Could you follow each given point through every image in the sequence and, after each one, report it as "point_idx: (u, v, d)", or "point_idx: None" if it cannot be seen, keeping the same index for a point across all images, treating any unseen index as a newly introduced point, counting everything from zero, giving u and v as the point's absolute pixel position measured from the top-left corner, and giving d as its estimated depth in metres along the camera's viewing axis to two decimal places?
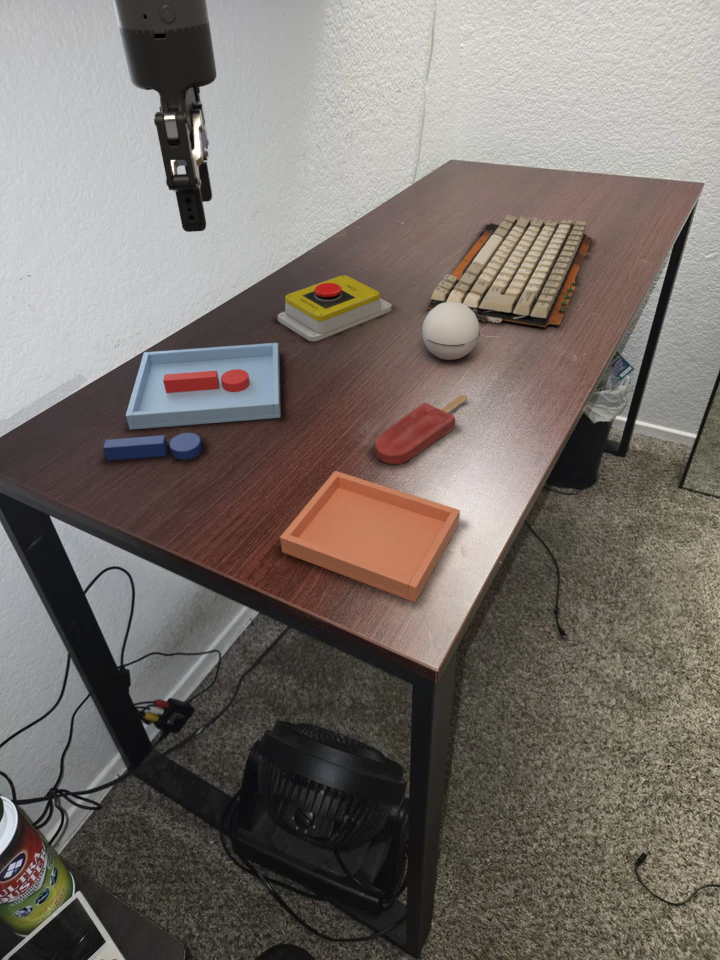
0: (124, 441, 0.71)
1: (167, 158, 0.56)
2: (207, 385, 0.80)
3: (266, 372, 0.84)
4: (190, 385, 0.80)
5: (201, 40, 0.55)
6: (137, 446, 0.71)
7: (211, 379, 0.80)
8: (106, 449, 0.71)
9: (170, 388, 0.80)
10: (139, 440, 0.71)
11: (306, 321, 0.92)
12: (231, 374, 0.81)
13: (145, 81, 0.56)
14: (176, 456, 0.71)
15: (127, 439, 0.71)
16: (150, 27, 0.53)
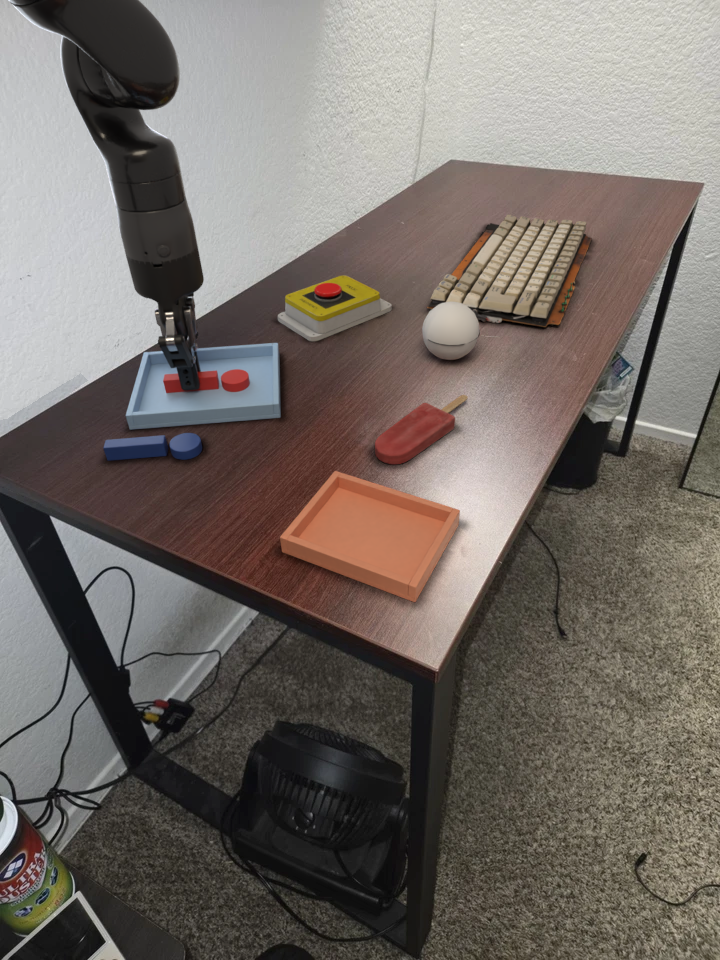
0: (124, 441, 0.71)
1: (170, 358, 0.73)
2: (207, 385, 0.80)
3: (266, 372, 0.84)
4: None
5: (190, 263, 0.69)
6: (137, 446, 0.71)
7: (211, 379, 0.80)
8: (106, 449, 0.71)
9: (170, 388, 0.80)
10: (139, 440, 0.71)
11: (306, 321, 0.92)
12: (231, 374, 0.81)
13: (146, 294, 0.70)
14: (176, 456, 0.71)
15: (127, 439, 0.71)
16: (150, 260, 0.67)
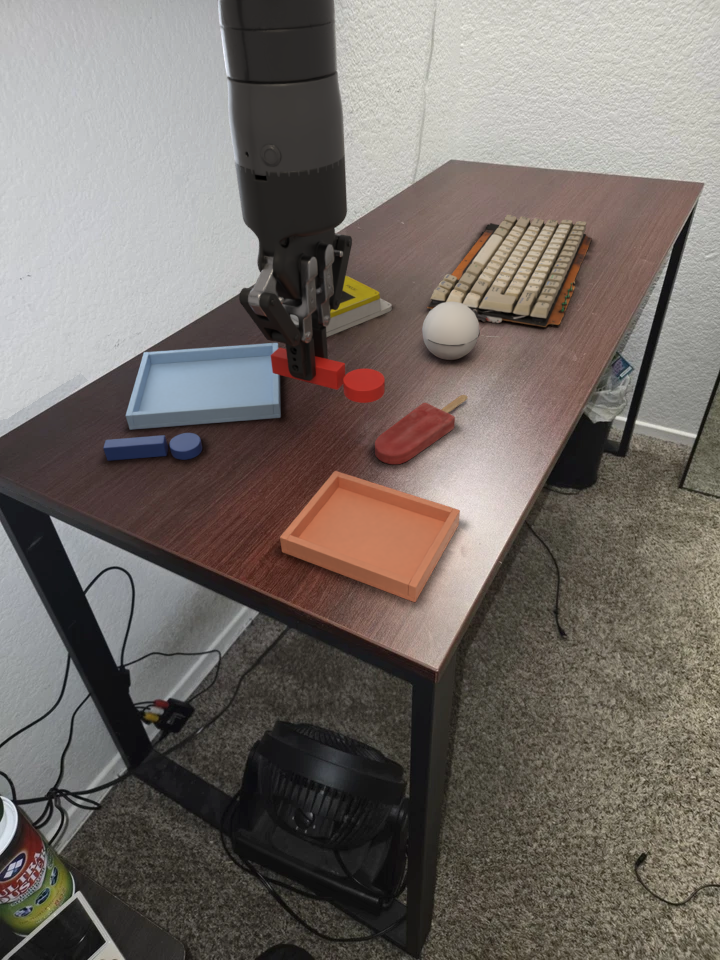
0: (124, 441, 0.71)
1: (260, 325, 0.49)
2: (323, 380, 0.55)
3: (266, 372, 0.84)
4: None
5: (316, 185, 0.43)
6: (137, 446, 0.71)
7: (329, 373, 0.54)
8: (106, 449, 0.71)
9: (277, 368, 0.56)
10: (139, 440, 0.71)
11: None
12: (362, 375, 0.54)
13: (246, 221, 0.46)
14: (176, 456, 0.71)
15: (127, 439, 0.71)
16: (251, 167, 0.42)
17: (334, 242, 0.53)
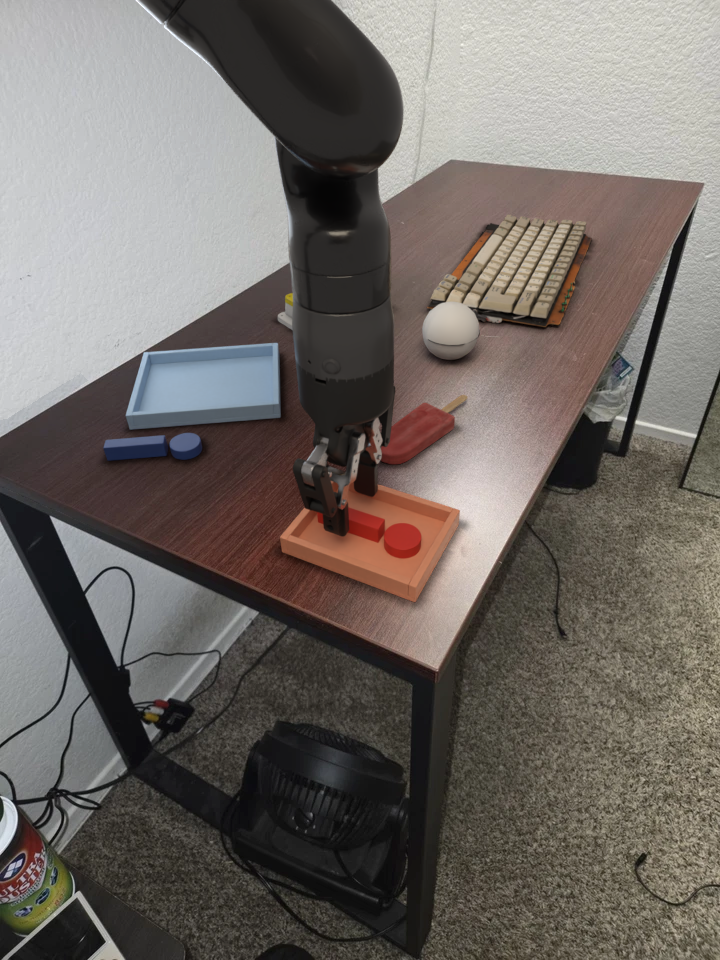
0: (124, 441, 0.71)
1: (304, 493, 0.52)
2: (365, 534, 0.61)
3: (266, 372, 0.84)
4: None
5: (369, 386, 0.48)
6: (137, 446, 0.71)
7: (371, 529, 0.60)
8: (106, 449, 0.71)
9: None
10: (139, 440, 0.71)
11: None
12: (400, 530, 0.60)
13: (304, 407, 0.51)
14: (176, 456, 0.71)
15: (127, 439, 0.71)
16: (312, 372, 0.47)
17: None
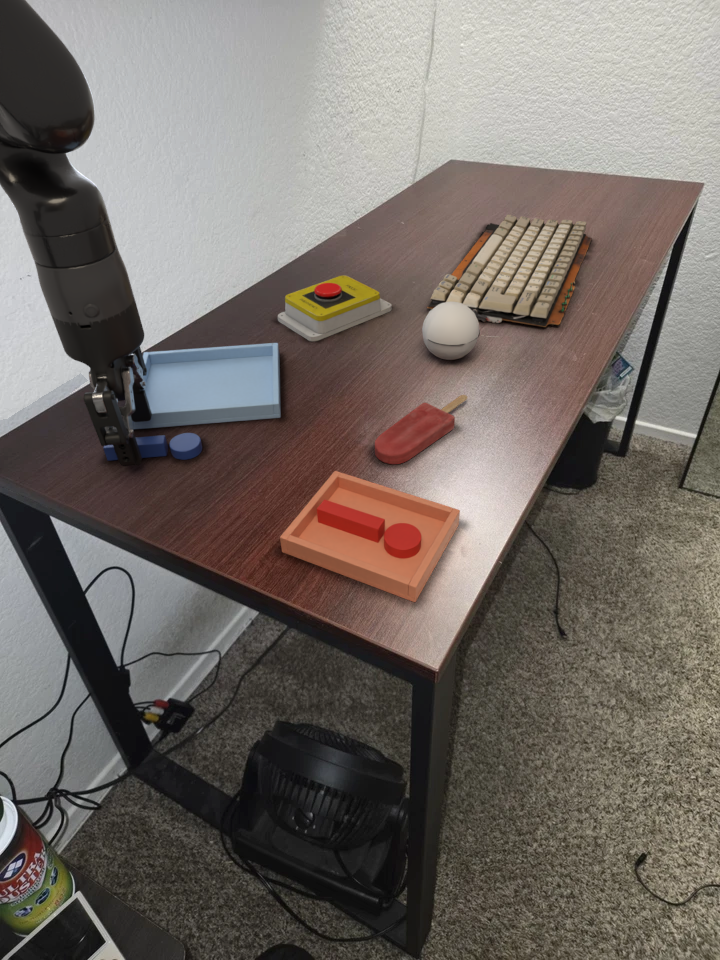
0: None
1: (98, 426, 0.62)
2: (365, 534, 0.61)
3: (266, 372, 0.84)
4: (346, 526, 0.61)
5: (125, 321, 0.60)
6: None
7: (371, 529, 0.60)
8: (106, 449, 0.71)
9: (323, 519, 0.62)
10: (139, 440, 0.71)
11: (306, 321, 0.92)
12: (400, 530, 0.60)
13: (75, 357, 0.61)
14: (176, 456, 0.71)
15: None
16: (76, 321, 0.58)
17: None
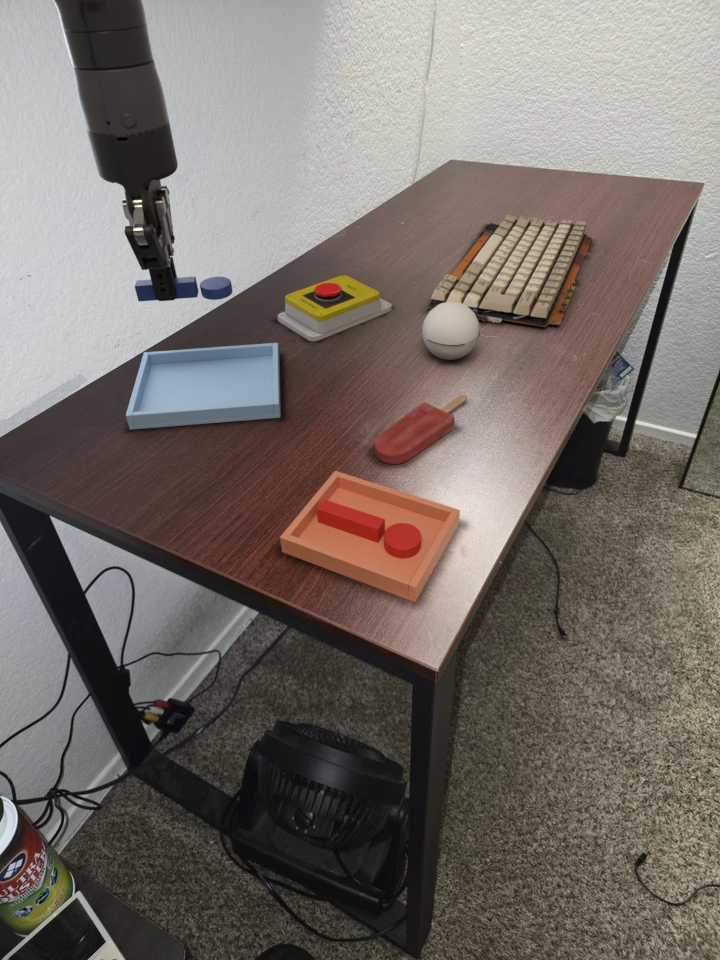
0: None
1: (139, 255, 0.64)
2: (365, 534, 0.61)
3: (266, 372, 0.84)
4: (346, 526, 0.61)
5: (161, 140, 0.61)
6: None
7: (371, 529, 0.60)
8: (137, 288, 0.71)
9: (323, 519, 0.62)
10: None
11: (306, 321, 0.92)
12: (400, 530, 0.60)
13: (110, 176, 0.61)
14: (207, 296, 0.71)
15: None
16: (113, 132, 0.58)
17: None
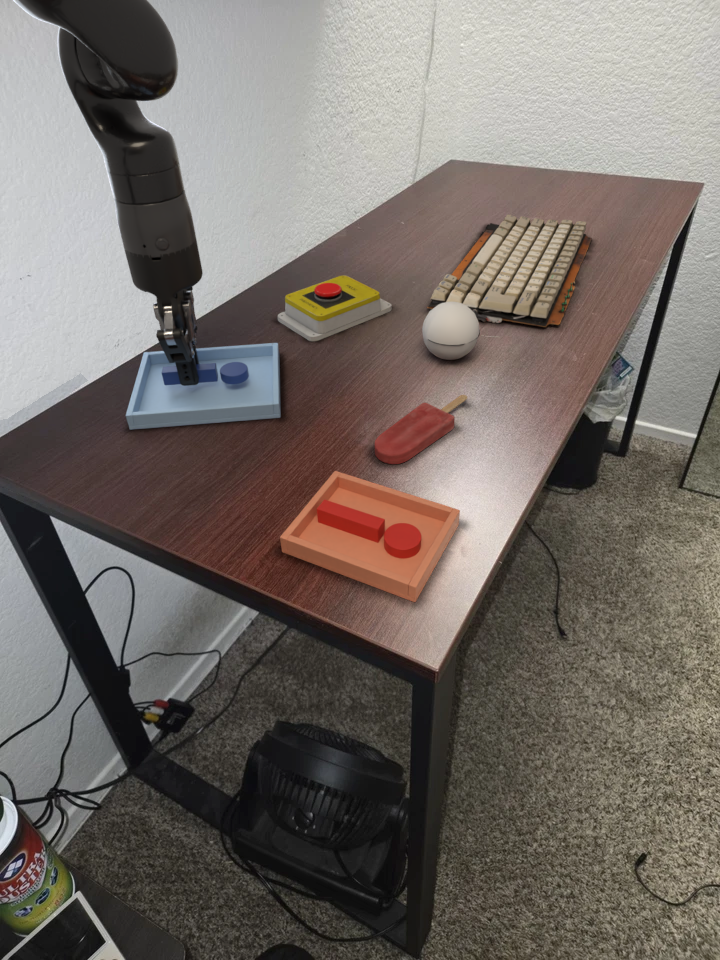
0: None
1: (168, 353, 0.72)
2: (365, 534, 0.61)
3: (266, 372, 0.84)
4: (346, 526, 0.61)
5: (189, 256, 0.69)
6: None
7: (371, 529, 0.60)
8: (164, 374, 0.79)
9: (323, 519, 0.62)
10: None
11: (306, 321, 0.92)
12: (400, 530, 0.60)
13: (144, 287, 0.69)
14: (226, 381, 0.80)
15: None
16: (148, 253, 0.66)
17: None
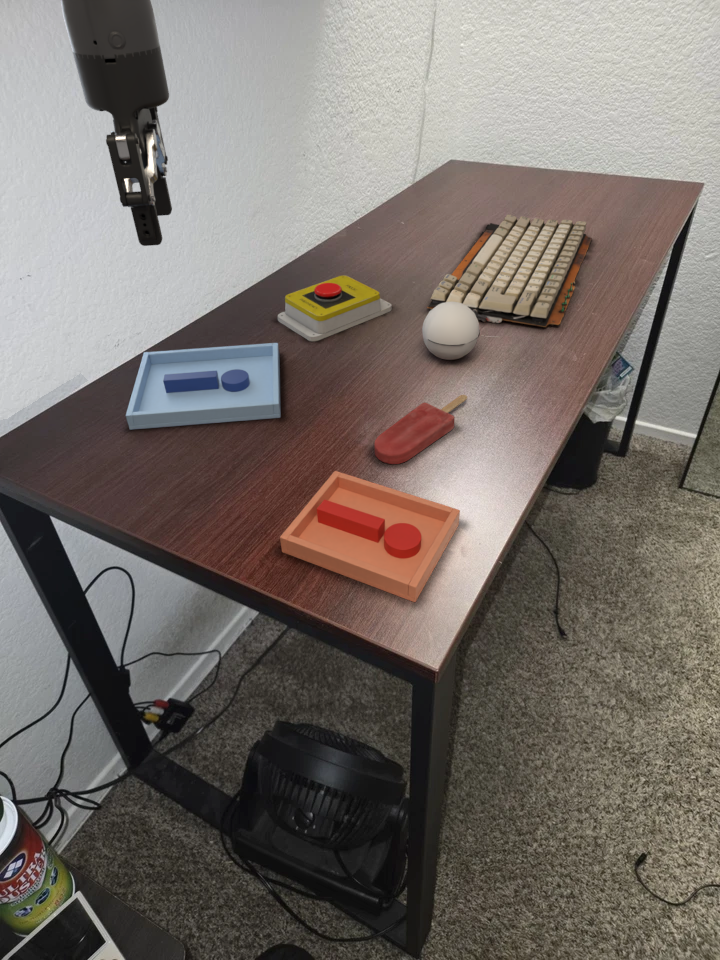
0: (182, 375, 0.80)
1: (120, 176, 0.59)
2: (365, 534, 0.61)
3: (266, 372, 0.84)
4: (346, 526, 0.61)
5: (151, 64, 0.58)
6: (193, 379, 0.80)
7: (371, 529, 0.60)
8: (166, 382, 0.80)
9: (323, 519, 0.62)
10: (194, 374, 0.80)
11: (306, 321, 0.92)
12: (400, 530, 0.60)
13: (98, 103, 0.58)
14: (227, 388, 0.80)
15: (184, 373, 0.80)
16: (100, 52, 0.55)
17: None
